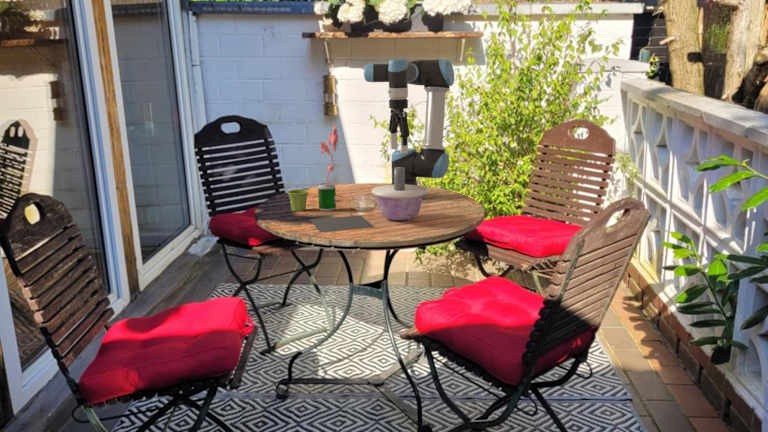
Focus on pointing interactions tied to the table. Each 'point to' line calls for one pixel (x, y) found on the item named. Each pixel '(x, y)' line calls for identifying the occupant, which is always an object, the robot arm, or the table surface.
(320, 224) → the mat
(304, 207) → the plant pot
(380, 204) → the bowl of food
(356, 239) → the table surface
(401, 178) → the lid
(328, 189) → the soda can
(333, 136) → the red flower stem
